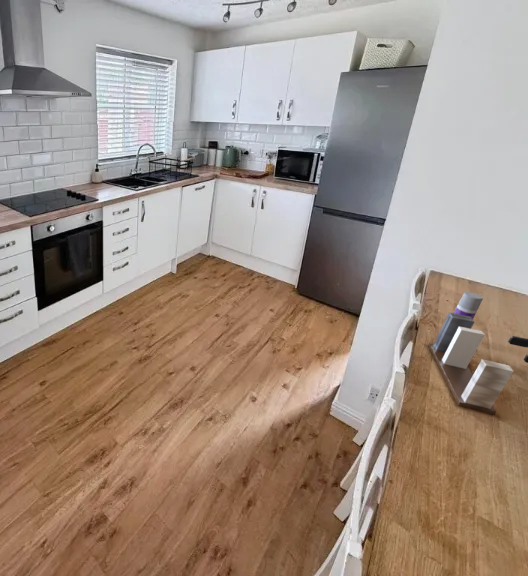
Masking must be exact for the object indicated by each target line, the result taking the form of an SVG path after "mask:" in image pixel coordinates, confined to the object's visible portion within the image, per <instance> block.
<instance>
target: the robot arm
mask: <svg viewBox="0 0 528 576" xmlns="http://www.w3.org/2000/svg"><path fill="white" fill-rule="evenodd" d="M507 342H508V344H509V345H513V346H517V347H521V348H527V349H528V338H525V337H521V336H517V335H512V336H510V337H509V339H508V341H507ZM523 361H524V363H526V364H528V353H527V354H526V355H525V356H524V358H523Z"/></svg>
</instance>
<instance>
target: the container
mask: <svg viewBox="0 0 528 576" xmlns="http://www.w3.org/2000/svg"><path fill="white" fill-rule="evenodd" d="M483 300H484V296H483V295H480V294H479V293H475V292H472V291H465V292H464V293H463V294H462V296H461V298H460V300H459V302H458V304H457V306H456V307H455V310H454V312H453V313H455V314H460V315H465V316H470V317H471V318H472V319H473V320H474V318H475V316H476V314H477V313H478V310H479V308H480V306H481V304H482V302H483Z"/></svg>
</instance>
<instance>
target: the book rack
mask: <svg viewBox="0 0 528 576" xmlns="http://www.w3.org/2000/svg"><path fill="white" fill-rule="evenodd" d="M474 324H475V320H474V318H473V319H472V318H471V317H470V316H465V315H460V314H455V313H454V312H448V314H447V316H446V318H445V320H444V322H443V324H442V327H441V328H440V329H439V332H438V334H437V336H436V339H435V341H434V343H428V346H427V347H428V349H429V350H430V353H431V354H432V356H433V358H434V360H435V362H436V364H437V366H438V368H439V371H440V373H441V374H442V376H443V378H444V380H445V382H446V384H447V386H448V388H449V391H450V393H451V394H452V396H453V398H454V400H455V402H456V404H457V406H458V407H463V408H466V409H470V410H474V411H478V412H482V413H485V414H490V415H493V416H495V415H496V413H497V410H496V409H495V407H494V404H495V403H496V401H497V399H498V398H499V396H500V394H501V393H502V391H503V389H504V388H505V387H506V385H507V383H508V382H509V381H510V378H511V377H512V375H513V374H514V372H515V371H514V370H513V369H512V367H511V366H510V365H508V364H504V363H500V362H495V361H491V360H486V359H483V358H482V359H481V360H480V362H479V364H478V365H477V368H476V369H475V371H474V373H473V372H472V370H471V369H470V367H469V365H468V366H467V368H466V369H464V368H459V367H455V366H451V365H447V364H444V363H443V361H442V359H443V357H444V355H445V353H446V351H447V349H448V347H449V345H450V343H451V341H452V339H453V337H454V335H455V333H456V331H457V329H458V327H459V326H460V327H464V328H469V329H473V326H474Z"/></svg>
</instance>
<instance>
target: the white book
mask: <svg viewBox="0 0 528 576" xmlns="http://www.w3.org/2000/svg"><path fill="white" fill-rule="evenodd" d="M485 336H486V335H485V333H484V332H483V331H482V330H479V329H474V328H471V329H469V328H464V327H460V326H459V327H458V329H457V331H456V333H455V335H454V337H453V339H452V341H451V343H450V345H449V347H448V349H447V351H446V353H445V355H444V357H443V359H442V361H443V363H444V364H447V365H451V366H455V367H459V368H464V369H466V368H467V366H468V367H469V364H470V362H471V361H472V359H473V357H474V355H475V353H476V351H477V350H478V348H479V346H480V344H481V343H482V341H483V339H484V338H485Z"/></svg>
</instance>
